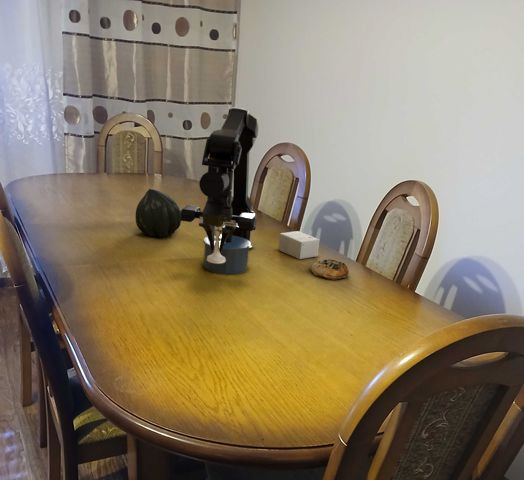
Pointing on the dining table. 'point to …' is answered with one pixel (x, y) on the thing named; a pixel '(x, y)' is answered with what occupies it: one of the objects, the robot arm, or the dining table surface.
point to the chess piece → (216, 249)
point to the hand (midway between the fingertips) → (216, 250)
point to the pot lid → (232, 242)
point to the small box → (298, 244)
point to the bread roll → (330, 269)
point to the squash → (157, 214)
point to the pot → (227, 261)
